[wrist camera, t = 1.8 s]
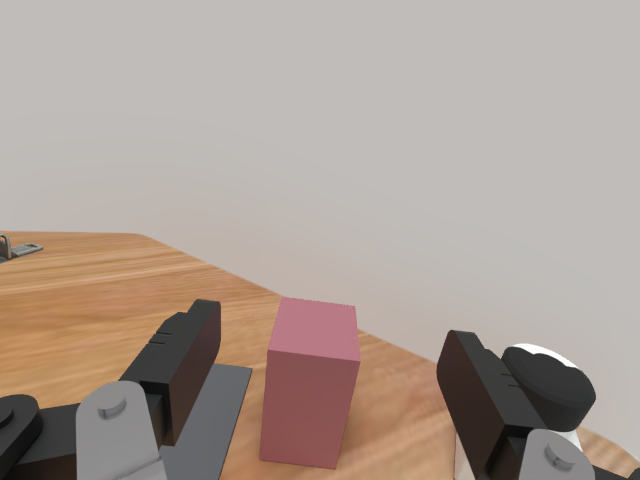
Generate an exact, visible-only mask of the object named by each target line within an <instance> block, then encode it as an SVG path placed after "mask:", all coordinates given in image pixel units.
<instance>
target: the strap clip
mask: <svg viewBox="0 0 640 480" xmlns="http://www.w3.org/2000/svg"><path fill="white" fill-rule="evenodd" d="M0 236H1V237H3V238H5V242H3V241H1V240H0V264H1V263H4V262H6V261H7V259H8V260H10V258H11V257H14V258H16V257H17V258H19V257H23V256H26V255H30V254H33V253H36V252H39V251H42V250H43V247H42V246H39V245H37V244H34V243H27V244H22V245H19V246H16V247H12V248H11V243H10V241H9V238H8V237H7V236H6V235H3V234H1V233H0ZM30 247H35V248H33V249H32V248H30Z"/></svg>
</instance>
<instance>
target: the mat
mask: <svg viewBox="0 0 640 480" xmlns="http://www.w3.org/2000/svg"><path fill="white" fill-rule="evenodd" d="M251 372H252V368H247V367H239V366H231V365H223V364H215V363H213V365H212V367H211V369H210V372H209V374H208V376H207V378H206V380H205V382H204V384H203V387H202V389H201V391H200V393H199V395H198V397H197V400H196V402H195V404H194V406H193V408H192V410H191V412H190V415H189V417H188V419H187V421H186V423H185V425H184V428H183V430H182V432H181V434H180V436H179V438H178V441H177V443H176V445H175V447H172V446H163V445H161V447H160V449H159V451H158V452H159V456H160V457H161V458H162V461H163V465H164V468H165V473H166V477H167V480H219V477H220V474H221V470H222V467H223V464H224V461H225V457H226V454H227V451H228V448H229V444H230V441H231V438H232V434H233V431H234V428H235V425H236V421H237V418H238V415H239V412H240V408H241V405H242V402H243V399H244V395H245V392H246V389H247V385H248V382H249V379H250V376H251Z"/></svg>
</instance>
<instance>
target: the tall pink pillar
mask: <svg viewBox="0 0 640 480" xmlns="http://www.w3.org/2000/svg"><path fill="white" fill-rule="evenodd" d="M359 366H360V351H359V341H358V331H357V321H356V311H355V306H349V305H342V304H334V303H326V302H319V301H311V300H303V299H295V298H288V297H282V299H281V302H280V306H279V310H278V313H277V317H276V321H275V325H274V328H273V332H272V336H271V339H270V343H269V347H268V353H267V366H266V380H265V393H264V406H263V419H262V432H261V446H260V459H259V460H264V461H272V462H280V463H288V464H296V465H304V466H312V467H321V468H329V469H336V464H337V460H338V456H339V451H340V447H341V443H342V439H343V434H344V430H345V426H346V421H347V417H348V413H349V409H350V404H351V400H352V396H353V391H354V387H355V383H356V378H357V374H358V370H359Z"/></svg>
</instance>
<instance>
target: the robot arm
mask: <svg viewBox="0 0 640 480" xmlns="http://www.w3.org/2000/svg"><path fill="white" fill-rule="evenodd" d="M220 342H221V305H220V302H218V301H210V300H201V299H197V300H196V301H195V302H194V303H193V305H192V306H191V308H190V309H189V310H188V312H187V313H183V312H178V313H176V314H175V315H173V316H171V317H170V318H168V319H167V320H165V321H164V323H163V324H162V325H161V326H160V328H159V329H158V330H157V332H156V334H154V335H153V337H152V338H151V339H150V340H149V343H148V344H146V346H145V347H144V348H143V349H142V351H141V352H140V353H139V355H138V356H137V357H136V358H135V360H134V361H133V362H132V363H131V365H130V366H129V367H128V369H127V370H126V371H125V372H124V374H123V375H122V376H121V378H120V379H119V380H118V381H117V382H112V383H109V384H106V385H104V386H102V387H100V388H98V389H96V390H95V391H93V392H92V393H90V394H89V395H88V396H87V397H86V398H85V399H84V400H83V401H82V402H81V403H77V404H71V405H65V406H58V407H52V408H46V409H39V406H38V403H37V401H36V399H35V398H33V397H32V396H29V395H23V394H18V395H10V396H5V397H2V398H0V480H167V477H166V473H165V468H164V465H163V461H162V458H161V457H160V456H159V452H158V451H159V449H160V447H161V445H163V446H172V447H175V445H176V443H177V441H178V438H179V436H180V434H181V432H182V430H183V428H184V425H185V423H186V421H187V419H188V417H189V415H190V412H191V410H192V408H193V406H194V404H195V402H196V400H197V397H198V395H199V393H200V391H201V389H202V387H203V384H204V382H205V380H206V378H207V376H208V374H209V372H210V369H211V367H212V365H213V363H214V361H215V359H216V356H217V354H218V351H219V347H220ZM437 380H438V383H439V386H440V389H441V391H442V394H443V397H444V399H445V402H446V404H447V407H448V410H449V412H450V415H451V418H452V420H453V423H454V425H455V428H456V431H457V433H458V436H459V439H460V441H461V444H462V446H463V449H464V452H465V454H466V457H467V460H468V462H469V465H470V468H471V470H472V473H473V475H474V478H475V480H640V468H637V469H635V470H634V472H633V473H632V474H631V475H630V477H629V478H628V479H627V478H624V477H622V476H619V475H617V474H614V473H612V472H609V471H607V470H604V469H601V468H599V467H596V466H594V465H591V463H590V461H589V460H588V458H587V457H586V456H585V455H584V453H583V452H582V451H581V450H580V449H579V448H578V447H577V446H575V445H574V444H573V443H572V442H570V441H569V440H568V439H566V438H564V437H563V436H561V435H559V434H557V433H555V432H552V431H549V430H548V428H547V427H546V425H545V424H544V422H543V421H542V419H541V418H540V416H539V415H538V413H537V412H536V410H535V409H534V407H533V406H532V404H531V403H530V401H529V400H528V398H527V397H526V395H525V394H524V392H523V391H522V389H520V388H519V385H518V383H517V382H516V380H515V379H514V377H512V374H511V373H510V371H509V370H508V368H507V367H506V365H505V364H504V362H503V361H502V360H501V359H500V358H498V357H497V356H496V355H495V354H494V353H493V352H492V351H490V350H488V349H485V348H484V347H483V345H482V344H481V342H480V340H479V339H478V337H477V336H476V335H475V333H472V332H464V331H455V330H450V331H449V332H448V334H447V337H446V340H445V343H444V346H443V349H442V352H441V355H440V357H439V361H438V364H437Z"/></svg>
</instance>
